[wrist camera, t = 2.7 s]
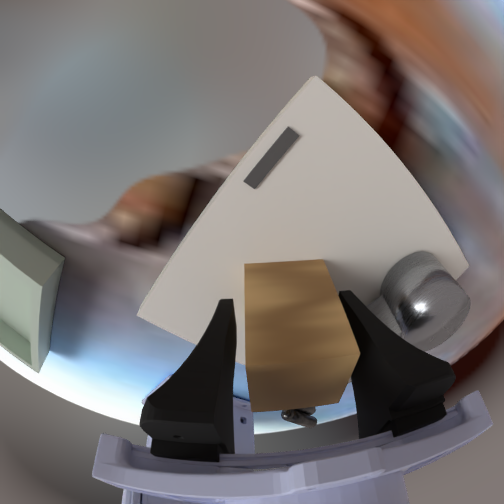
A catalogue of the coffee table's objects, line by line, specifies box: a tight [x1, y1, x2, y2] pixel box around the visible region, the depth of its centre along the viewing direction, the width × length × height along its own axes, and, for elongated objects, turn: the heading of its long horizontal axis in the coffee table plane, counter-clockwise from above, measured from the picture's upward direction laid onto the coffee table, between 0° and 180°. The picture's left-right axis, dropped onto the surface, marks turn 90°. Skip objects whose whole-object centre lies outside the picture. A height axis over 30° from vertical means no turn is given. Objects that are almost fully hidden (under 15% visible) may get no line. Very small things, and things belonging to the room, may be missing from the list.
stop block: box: [244, 259, 360, 412], centre depth 12 cm, size 4×4×6 cm
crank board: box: [137, 76, 469, 365], centre depth 15 cm, size 16×16×1 cm
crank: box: [281, 251, 470, 428], centre depth 14 cm, size 13×4×5 cm, turn 133°
